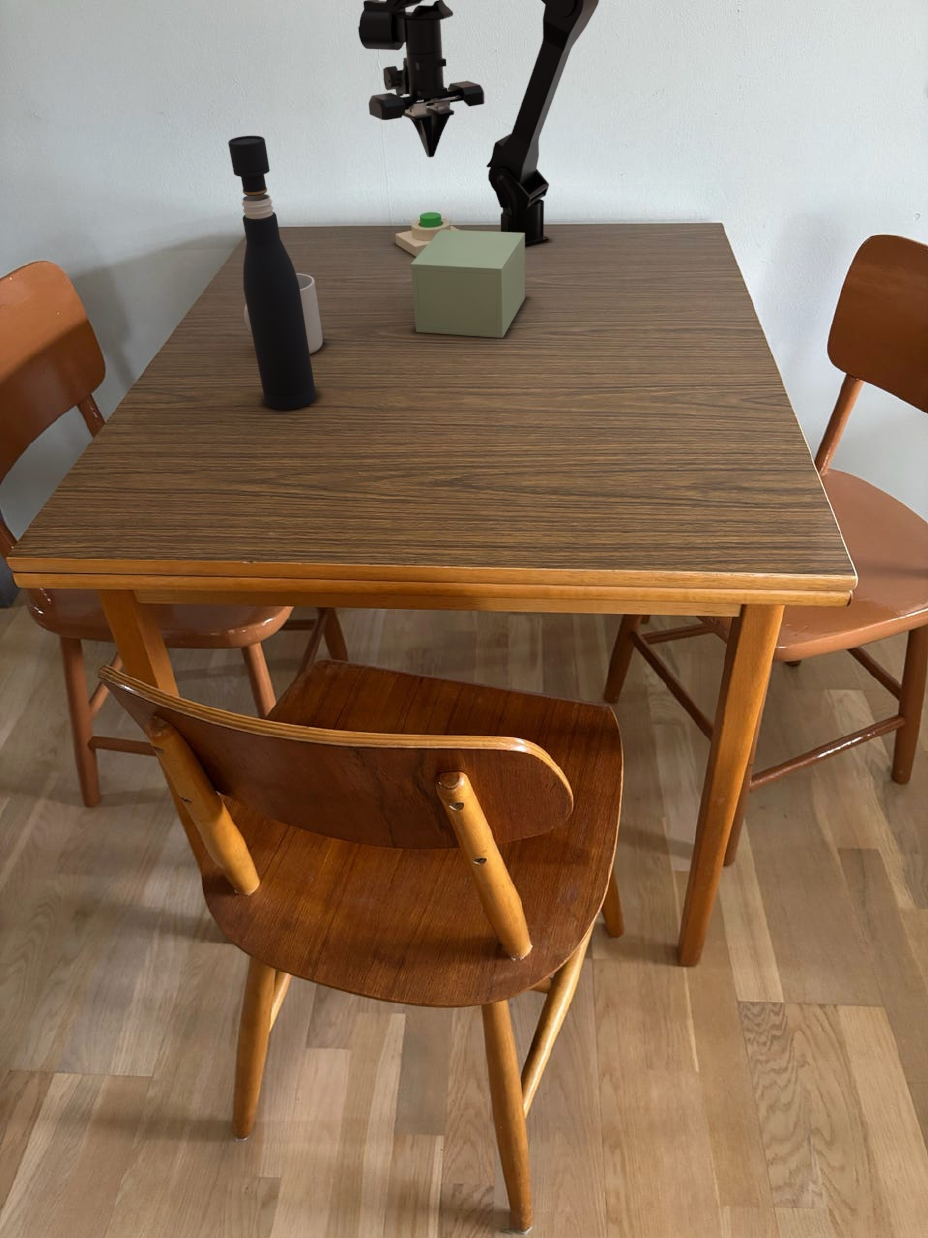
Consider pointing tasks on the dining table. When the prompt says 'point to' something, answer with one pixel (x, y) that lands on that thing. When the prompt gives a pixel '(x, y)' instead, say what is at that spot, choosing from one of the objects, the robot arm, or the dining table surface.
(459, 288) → the sage green box
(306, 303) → the cup
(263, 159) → the black insulated water bottle
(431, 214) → the button
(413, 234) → the control block
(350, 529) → the dining table surface
